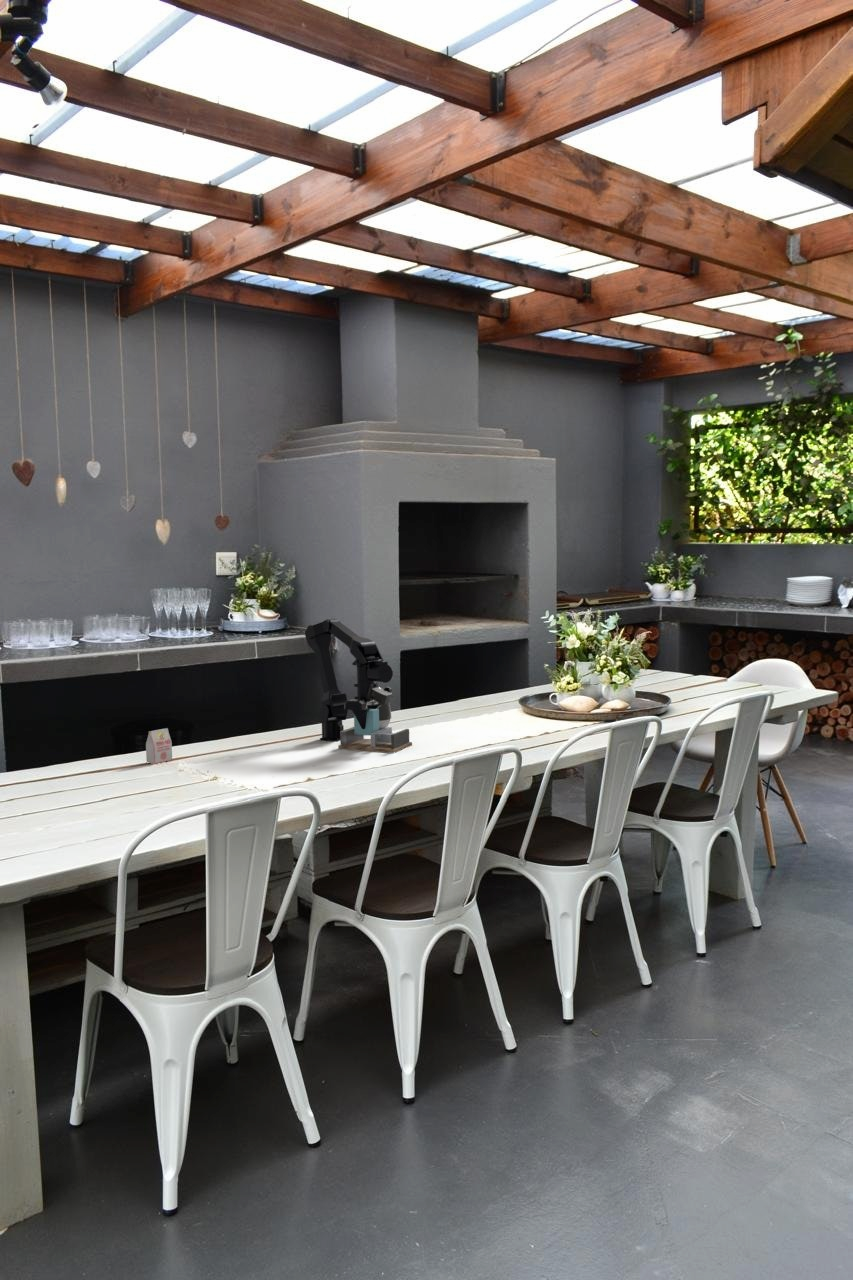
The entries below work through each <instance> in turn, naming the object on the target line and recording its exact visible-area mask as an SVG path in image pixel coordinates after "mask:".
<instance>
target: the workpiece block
mask: <svg viewBox="0 0 853 1280" xmlns="http://www.w3.org/2000/svg"><path fill="white" fill-rule="evenodd" d="M353 724H354V725H353V727H354V734H357V735H364V736H371V733H373V732H376V731H379V730H380V729H379V709H370V710H369V711H368V712H367V716H366V727H365V729H362V728H361V726H360V724H359V722H358V720H357V718H356V716H355V715H354V714H353Z"/></svg>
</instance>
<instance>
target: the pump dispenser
mask: <svg viewBox="0 0 853 1280" xmlns="http://www.w3.org/2000/svg"><path fill="white" fill-rule="evenodd" d="M378 688H380V689H382V688H383V687H382V686H379V685H378ZM377 702H378V701H377ZM378 704H381V703H379V702H378ZM390 704H391V703H390V702H389V703H386V704H382V705H381V706H380V707H379V708H378V709H379V730H381V729H384V728H387V727H389V725H390V723H391V719H392V710H391V705H390Z"/></svg>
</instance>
